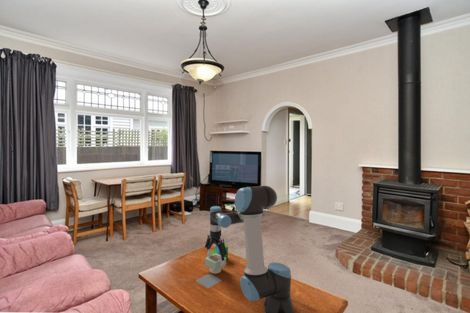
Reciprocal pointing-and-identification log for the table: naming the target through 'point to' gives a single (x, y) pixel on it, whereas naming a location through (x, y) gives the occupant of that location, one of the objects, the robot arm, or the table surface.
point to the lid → (214, 261)
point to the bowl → (215, 270)
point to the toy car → (219, 251)
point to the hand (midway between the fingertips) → (215, 261)
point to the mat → (208, 280)
